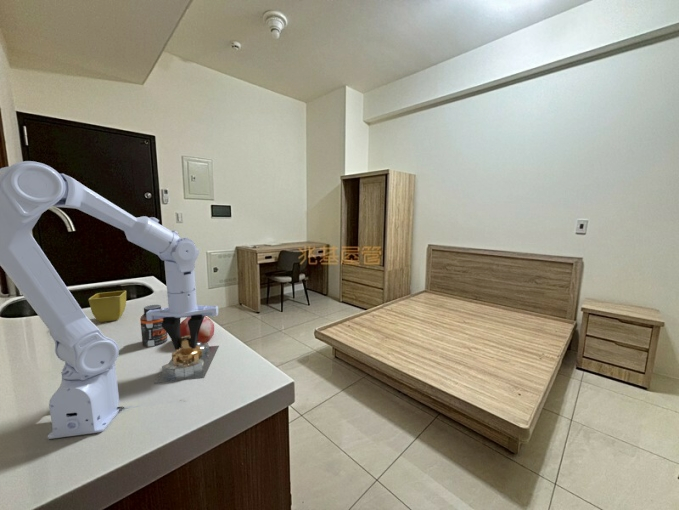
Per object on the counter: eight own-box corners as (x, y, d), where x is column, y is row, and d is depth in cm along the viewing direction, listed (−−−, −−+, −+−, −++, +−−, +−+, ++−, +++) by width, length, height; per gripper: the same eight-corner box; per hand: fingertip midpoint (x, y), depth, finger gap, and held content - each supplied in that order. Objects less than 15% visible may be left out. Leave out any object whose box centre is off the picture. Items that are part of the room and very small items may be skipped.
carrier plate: (204, 382, 63) (204, 376, 63) (153, 387, 61) (153, 381, 61) (219, 349, 79) (219, 344, 78) (179, 352, 77) (179, 347, 76)
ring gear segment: (200, 376, 63) (199, 366, 63) (159, 381, 62) (158, 370, 61) (203, 370, 66) (203, 360, 66) (164, 374, 64) (163, 364, 64)
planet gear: (200, 362, 66) (198, 341, 65) (169, 367, 64) (167, 345, 63) (203, 349, 72) (202, 330, 71) (175, 353, 70) (173, 334, 69)
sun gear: (205, 356, 72) (205, 347, 72) (179, 359, 71) (178, 349, 71) (211, 346, 78) (210, 337, 78) (187, 348, 77) (186, 339, 76)
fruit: (180, 339, 85) (177, 306, 83) (215, 334, 88) (213, 303, 87) (175, 353, 76) (172, 317, 75) (214, 347, 79) (212, 312, 78)
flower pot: (99, 317, 103) (96, 292, 102) (129, 313, 107) (126, 290, 106) (91, 325, 95) (87, 299, 94) (123, 321, 99) (120, 296, 98)
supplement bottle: (156, 351, 77) (152, 310, 76) (137, 349, 78) (133, 309, 77) (172, 341, 83) (169, 304, 82) (155, 340, 84) (151, 302, 83)
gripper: (219, 284, 70) (222, 337, 72) (153, 287, 67) (158, 342, 69) (212, 292, 64) (216, 350, 65) (139, 295, 61) (145, 356, 63)
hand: (186, 347), depth 67 cm, fingers closed on planet gear, 3 cm apart
